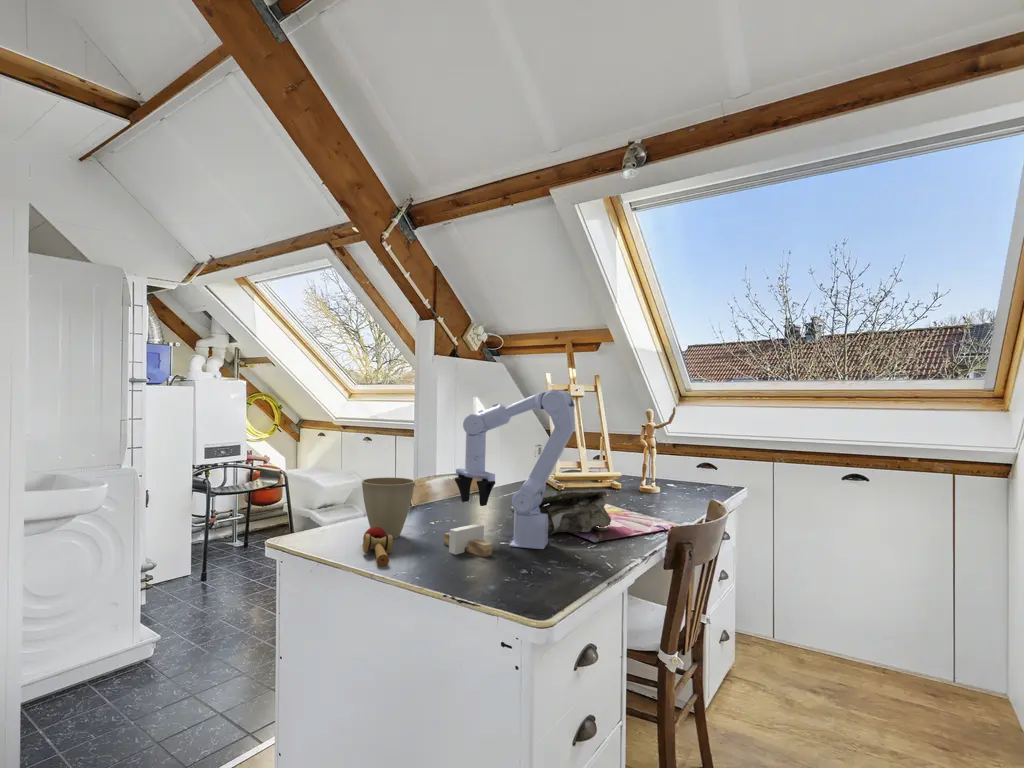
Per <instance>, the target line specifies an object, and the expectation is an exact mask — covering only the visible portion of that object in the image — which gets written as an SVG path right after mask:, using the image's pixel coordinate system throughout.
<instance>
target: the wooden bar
mask: <svg viewBox="0 0 1024 768" xmlns="http://www.w3.org/2000/svg"><path fill="white" fill-rule="evenodd" d="M449 533H450V531H449V532H445V533H444V536H443V539H444V540H443V545H444V546H447V547H449ZM464 552H467V553H471V554H473V555H477V556H480V557H482V558H486V557H487V558H488V557H491V556H493V543H491V542H487V541H481V540H478V539H473V540H469V547H466V548H465V551H464Z"/></svg>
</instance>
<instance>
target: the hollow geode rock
mask: <svg viewBox="0 0 1024 768" xmlns="http://www.w3.org/2000/svg"><path fill="white" fill-rule="evenodd" d="M604 496H607V492H606V491H602V490H600V491H596V492H595V491H594V492H593V491H590V492H588V491H586V492H573V491H571V492H566V493H565V492H564V493H559V494H557V495H554V496H552V495H551V496H546V497H543V500H542V503H541V504H540V505H539V508H540V513H543V514H547V515H548V536H552V535H553V534H555V533H565V532H566V533H570V534H571V533H576V532H581V533H589V532H590V531H592V529H594V530H597V531H600V532H601V531H607V530H608V529H609V527H607V528H598V527H596V526H599V527H605V526H608V525H609V526H610V525H611V522H612V518H611V516H610V515H609V513H608V512H607V510H606V508H605V506H606V505H607V502H606V500H605V498H604Z"/></svg>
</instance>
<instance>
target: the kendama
mask: <svg viewBox="0 0 1024 768" xmlns="http://www.w3.org/2000/svg"><path fill="white" fill-rule="evenodd" d="M362 539H363V541H362V552H364V553H365V552H367V553H368V552H369V551H374V553H375V558H376V564H377V566H379V567H386V566H387V565H388V564H389V563H390V557H389V555H390V554H391V552H392V549H393V544H394V543H393V542H394V539H393V536H392V535H386V532H385V531H384V530H383V529H382V528H380V527H371V528H370V527H369V528H368V529H367V530H366V531H365V532H364V533H363V537H362Z"/></svg>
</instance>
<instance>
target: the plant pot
mask: <svg viewBox="0 0 1024 768" xmlns="http://www.w3.org/2000/svg"><path fill="white" fill-rule="evenodd" d="M415 482H416V481H415V480H414V479H412V478H407V477H406V478H405V477H391V476H390V477H388V476H387V477H371V478H366V479H362V480H361V485H362V486H361V487H362V488H361V489H362V497H363V503H364V509H365V513H366V517H367V521H368V525H369V528H371V527H380V528H382V529H383V530H384V531H385V532H386V535H392V536H393V540H394V539H397V538H399V537H400V535H401V534H402V530H403V528H404V526H405V523H406V521H407V517H408V514H409V511H410V508H411V504H412V499H413V494H414V489H415Z"/></svg>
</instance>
